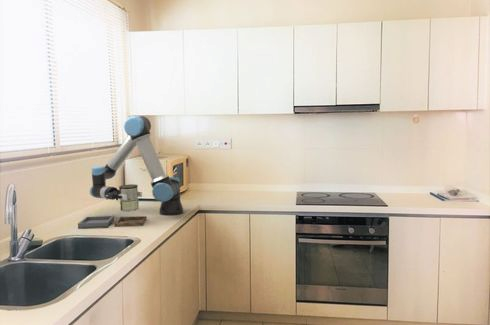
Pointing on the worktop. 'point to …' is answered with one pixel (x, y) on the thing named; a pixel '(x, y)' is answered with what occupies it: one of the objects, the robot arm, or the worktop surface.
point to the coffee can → (129, 198)
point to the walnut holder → (118, 224)
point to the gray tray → (96, 222)
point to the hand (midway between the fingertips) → (134, 195)
